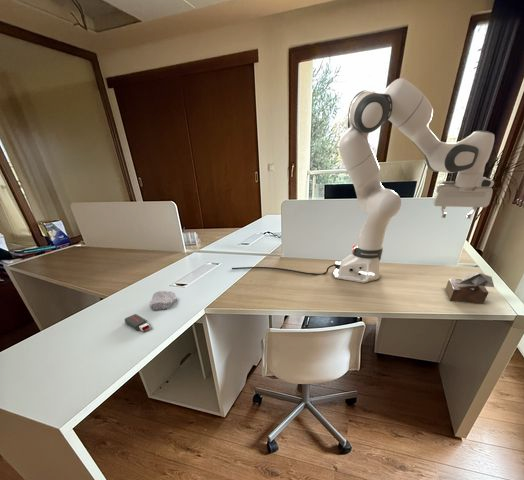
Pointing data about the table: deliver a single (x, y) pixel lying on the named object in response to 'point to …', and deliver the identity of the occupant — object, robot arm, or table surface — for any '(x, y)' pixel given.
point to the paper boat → (478, 280)
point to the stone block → (162, 300)
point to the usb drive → (137, 323)
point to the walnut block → (465, 292)
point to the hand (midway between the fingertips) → (455, 217)
